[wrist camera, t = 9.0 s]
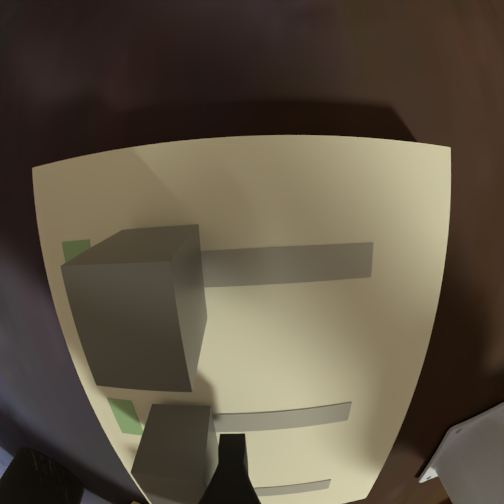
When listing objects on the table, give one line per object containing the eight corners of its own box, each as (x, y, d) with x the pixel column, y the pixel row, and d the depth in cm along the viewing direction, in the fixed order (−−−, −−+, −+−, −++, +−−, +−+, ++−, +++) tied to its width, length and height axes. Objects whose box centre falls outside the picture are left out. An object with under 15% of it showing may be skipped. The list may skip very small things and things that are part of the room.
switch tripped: (210, 405, 10) (203, 479, 7) (219, 448, 11) (215, 513, 8) (152, 403, 10) (130, 472, 7) (168, 446, 11) (155, 508, 8)
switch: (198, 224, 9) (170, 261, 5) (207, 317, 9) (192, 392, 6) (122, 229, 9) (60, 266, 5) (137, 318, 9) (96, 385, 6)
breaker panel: (422, 148, 10) (451, 147, 8) (359, 478, 16) (365, 498, 14) (60, 166, 10) (31, 167, 8) (158, 489, 16) (153, 509, 14)
